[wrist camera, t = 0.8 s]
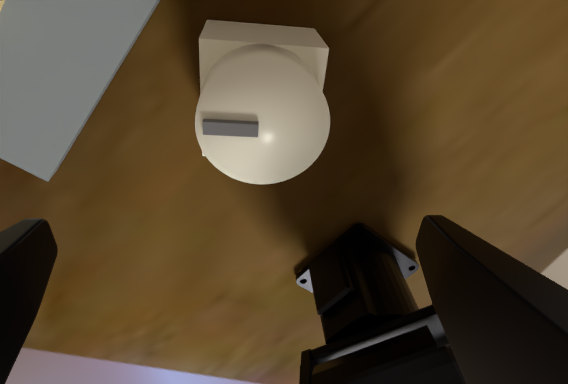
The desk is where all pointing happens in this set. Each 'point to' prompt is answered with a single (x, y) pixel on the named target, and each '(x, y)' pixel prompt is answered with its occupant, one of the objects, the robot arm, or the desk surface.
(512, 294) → the robot arm
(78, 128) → the panel
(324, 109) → the knob
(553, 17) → the desk surface
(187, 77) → the desk surface
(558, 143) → the desk surface
